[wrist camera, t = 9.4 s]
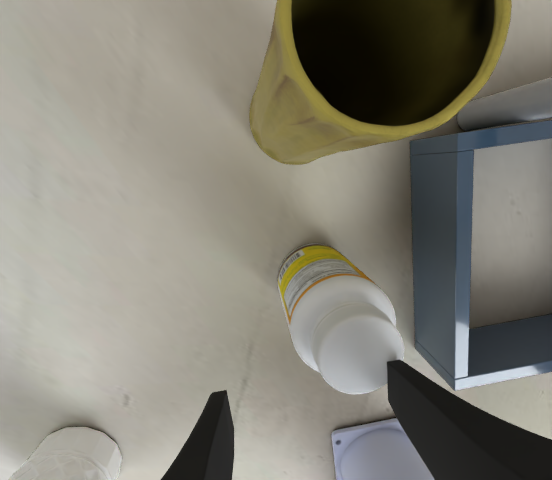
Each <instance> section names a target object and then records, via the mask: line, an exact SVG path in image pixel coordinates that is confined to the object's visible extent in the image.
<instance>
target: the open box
mask: <svg viewBox="0 0 552 480" xmlns="http://www.w3.org/2000/svg"><path fill="white" fill-rule="evenodd" d="M547 118H552V77H550V78H546V79H543V80H539V81H536V82H533V83H529V84H526V85H523V86H519V87H516V88H512V89H509V90H506V91H502V92H499V93H496V94H492V95H489V96H485V97H482V98H479V99H475V100H472V101H469V102H468V103H467V104H466V105H465V106H464V107H463V108H462V109H461V110H460V111H459V112H458V115H457V122H458V124H459V126H460V127H461V128H462V129H463V130H465V131H469V132H462V133H455V134H449V135H443V136H437V137H431V138H425V139H418V140H412V141H410V155H411V156H410V165H411V205H412V246H413V287H414V327H415V349H416V350H417V351H418V352H419V354H420V355H421V356H422V357H423V358H424V359H425V360H426V361H427V362H428V363H429V364H430V365H431V366H432V367H433V369H434V370H435V371H436V372H437V373H438V374H439V375H440V376H441V377H442V378H443V379H444V380H445V381H446V382H447V384H448V385H449V386H450V387H451V388H452V389H453V390H454V391H457V390H462V389H467V388H472V387H477V386H482V385H487V384H492V383H497V382H503V381H508V380H513V379H518V378H523V377H528V376H533V375H538V374H543V373H548V372H552V314H549V315H544V316H538V317H533V318H527V319H522V320H516V321H511V322H506V323H500V324H495V325H489V326H484V327H478V328H473V329H469V316H470V278H471V239H472V201H473V162H474V149H481V148H488V147H495V146H502V145H508V144H515V143H522V142H529V141H536V140H543V139H550V138H552V120H548V121H541V122H533V123H526V124H519V125H512V126H505V127H498V128H491V127H497V126H503V125H510V124H516V123H522V122H528V121H534V120H540V119H547ZM485 128H491V129H485ZM479 129H484V130H479ZM473 130H476V131H473Z"/></svg>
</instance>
